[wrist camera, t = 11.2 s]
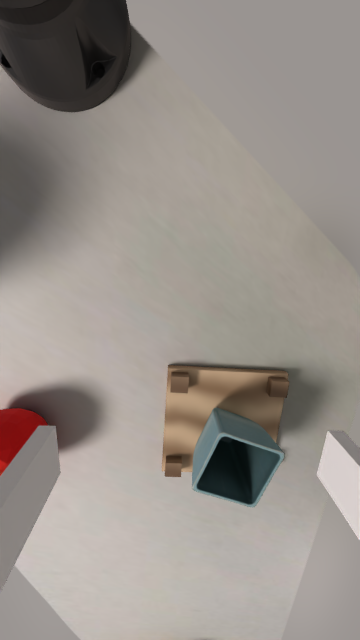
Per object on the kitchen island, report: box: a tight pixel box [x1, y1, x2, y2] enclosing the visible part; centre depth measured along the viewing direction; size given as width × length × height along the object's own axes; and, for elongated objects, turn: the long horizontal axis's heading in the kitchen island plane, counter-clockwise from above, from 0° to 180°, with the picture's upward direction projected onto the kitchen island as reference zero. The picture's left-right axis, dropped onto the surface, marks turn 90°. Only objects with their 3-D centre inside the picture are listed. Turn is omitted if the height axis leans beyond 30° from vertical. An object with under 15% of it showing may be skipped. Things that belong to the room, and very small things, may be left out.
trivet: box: [162, 365, 289, 477], centre depth 38 cm, size 18×18×3 cm
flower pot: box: [192, 408, 285, 507], centre depth 34 cm, size 9×9×9 cm
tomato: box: [0, 408, 48, 476], centre depth 33 cm, size 12×12×10 cm
